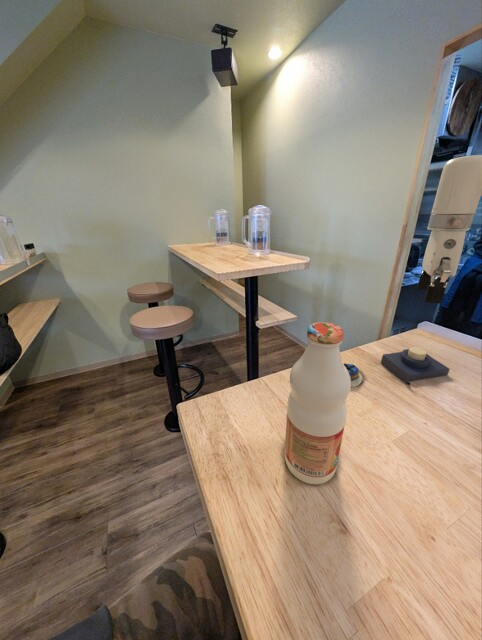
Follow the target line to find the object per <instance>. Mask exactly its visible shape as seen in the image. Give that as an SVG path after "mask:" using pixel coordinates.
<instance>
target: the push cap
mask: <svg viewBox="0 0 482 640" xmlns="http://www.w3.org/2000/svg"><path fill="white" fill-rule="evenodd" d="M408 349H409V351H408V357H410V358H412V359H414V360H419V361H423V360H425V357H426V354H428V352H427V350H426V349H424V348H423V347H418V346H411V347H409V348H408Z"/></svg>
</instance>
